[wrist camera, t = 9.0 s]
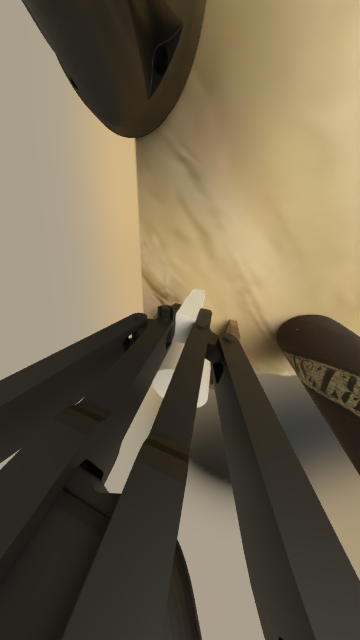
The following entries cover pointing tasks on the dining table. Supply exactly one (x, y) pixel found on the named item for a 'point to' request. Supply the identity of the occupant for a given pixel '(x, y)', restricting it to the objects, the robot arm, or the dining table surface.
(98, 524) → the robot arm
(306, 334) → the container
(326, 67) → the dining table surface
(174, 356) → the white cylinder
